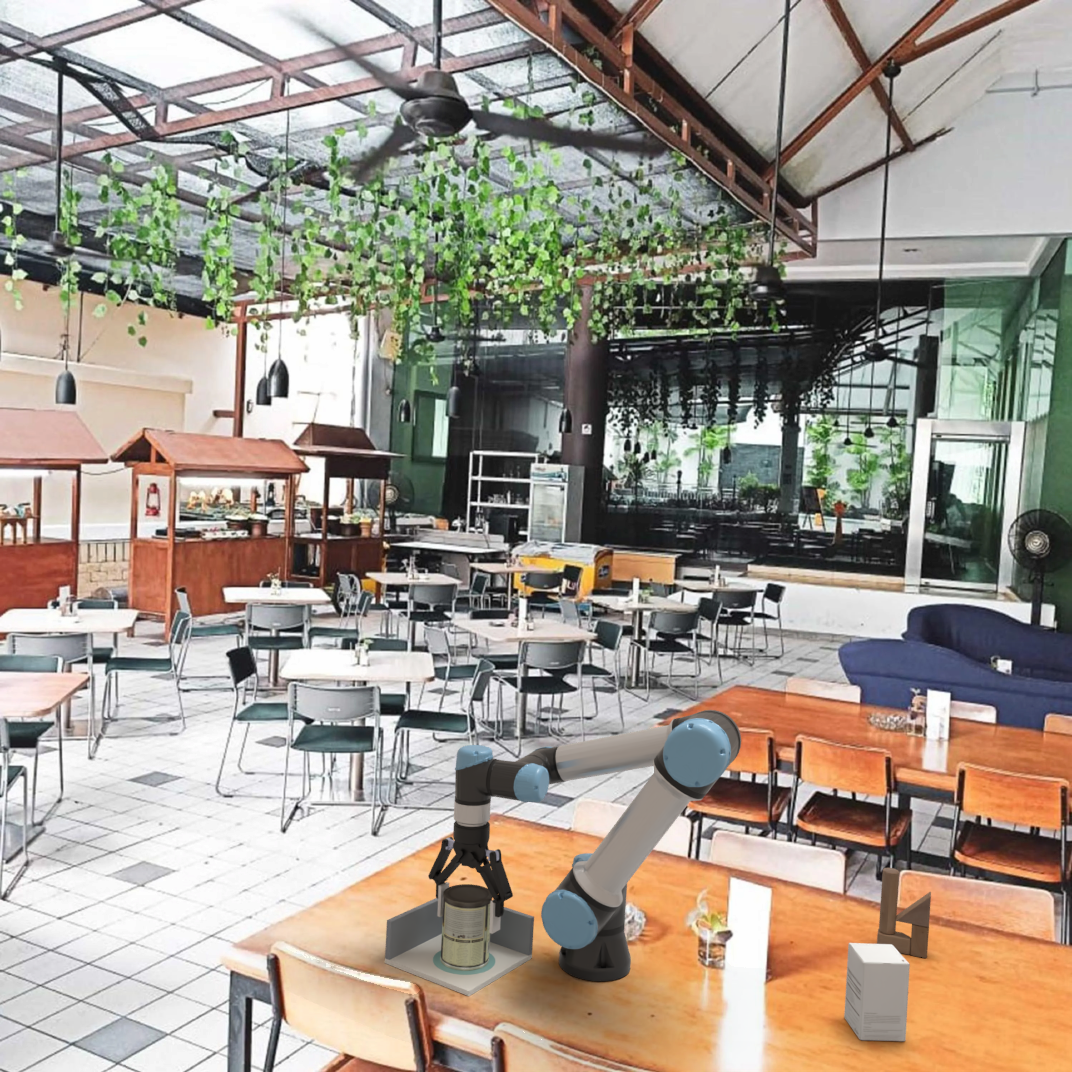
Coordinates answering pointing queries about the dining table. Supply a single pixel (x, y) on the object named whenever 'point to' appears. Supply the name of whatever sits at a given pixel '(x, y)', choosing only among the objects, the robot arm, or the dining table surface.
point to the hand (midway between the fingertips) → (468, 923)
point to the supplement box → (877, 992)
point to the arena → (420, 948)
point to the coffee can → (466, 927)
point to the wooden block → (903, 918)
